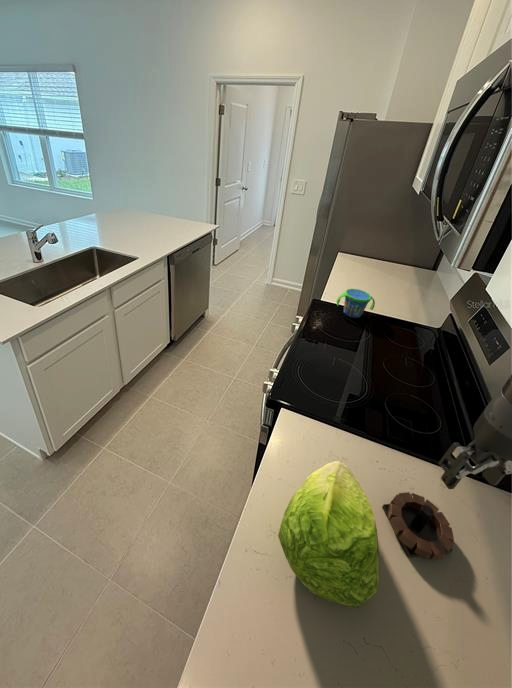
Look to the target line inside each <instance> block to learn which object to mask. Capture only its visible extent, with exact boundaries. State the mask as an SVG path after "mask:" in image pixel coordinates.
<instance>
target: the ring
mask: <svg viewBox="0 0 512 688" xmlns="http://www.w3.org/2000/svg"><path fill="white" fill-rule="evenodd" d="M388 504H389V507H388V518H387V520H388V519H389V520H390V522H389V524H390V525H391V526H390V527H391V529H392V531H393V532H394V533H395V536H397V535H401V536H400V537H399V539H400V540H401V541H402V542H403V543H404V544H405V545H406V546H407V547H408V548H409V549H410V550H411V549H412V548H414V553H416V554H418V555H421V556H420V557H423V558H425V559H429V558H430V560H438V559H443V558H444V557H446V556H447V555H448V554H449V553H448V552H449V551H450V549H451V547H452V548H453V546H454V544H455V543H454V542H455V537H454V533H453V532H454V531H453V528H452V527H451V526H450V525H451V523H450V522H449V521H448V519H447V517H446V516H445V515H444V513H443V512H442V511H439V510H440V508H439V507H437V506H436V505H435V504H434V503H433V502H431V501H430V500H429V499H427V498H426V500H425V497H424V496H421V495H419V494H417V493H414V492H411V493H410V492H407V491H406V492H399V493H397V494H396V495H395V496H394V497H393V498H392V499H391V501H390V503H388ZM423 505H428V506H429V507H431V508H432V510H433V512H434V515H433V516H432V518H431V521H432V523H433V524H434V526H435V527H436V529H437V535H438V540H437V541H433V542H428V541H426V540H423V539H421V538H419V537H417V536H416V535H415V534H414V533H413V532H412V531H411V530H410V529H408V527H407V525H406V524H405V522H404V520H403V518H402V508H404V507H412V508H415V509H417V510H420V509H421V507H422V506H423ZM389 520H388V521H389ZM399 539H398V540H399Z"/></svg>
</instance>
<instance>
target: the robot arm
mask: <svg viewBox="0 0 512 688" xmlns="http://www.w3.org/2000/svg"><path fill="white" fill-rule="evenodd" d="M472 429H473V435H474V440H472V441H471V442H469V443H468V444H467V446H463V445H461V444H460V443H459V442H458V441H456V442H453V443H452V444H451V445H450V446H449V448H448V449H447V450H446V452H445V453H444V455H443V456H442V457H441V458H440V460H439V461H438V465H439V466H440V467H441V469H442V470H443V474H442V475H441V476H440V480H441V481H442V482H443V484H444V485H445V487H446V488H447V489H448V490H454V489H455V488H456V487H457V485H458V484H459V483H460V482H461V481H462V479H463V478H464V477H466V476H467V475H469V474H471V475H472V474H473V475H477V474H479V473H481V472H482V471H483V473H482V475H483V478H484V479H485V480H486V482H488V484H489V485H491V486H497V485H498V484H499V483H500V482H501V481H502V480H503V478H505V476H506V475H511V474H512V374H511V375H510V376H509V377H508V379H507V380H506V381H505V383H504V385H502V388H501V389H500V390H499V391H498V392H497V393H496V394H495V395H494V396H492V398H491V400H490V401H489V403H488V404H487V405H486V407H485V408H484V410H483V411H482V413H480V415H479V417H478V419H477V420H476V421H475V423H474V424H473V428H472ZM469 459H471V461H472V462H473V463H474V464H475V466H472V465H471V463H470V460H469ZM462 467H464V468H463V469H462ZM484 470H485V471H484Z"/></svg>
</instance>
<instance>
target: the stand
mask: <svg viewBox="0 0 512 688" xmlns="http://www.w3.org/2000/svg"><path fill="white" fill-rule="evenodd" d="M389 504H390V503H385V504H383V505H382V506H381V509H382V510H383V512H384V514H385V516H386V518H387V520H388V522H389V523H390V520H389V519H388V507H389ZM433 515H434V512H433V510H432V508H431V507H429V506H428V505H423V506H422V507H421V509H420V510H417V509H415V508H412V507H404V508H402V518H403V520H404V522H405V524H406V525H407V527H408V529H410V530H411V531H412V532H413V533H414V534H415V535H416V536H417V537H419V538H421V539H423V540H426V541H428V542H433V541H437V540H438V535H437V529H436V527H435V526H434V524H433V523H432V521H431V518H432V516H433ZM400 536H401V535H396V537H397V540H398V541H399V543H400V544H401V547H402V549H403V550H404V553H405V554H406V556H407V558H418V557H422V556H421V555H418V554H416V553H414V548H412V549H411V550H410V549H409V548H408V547H407V546H406V545H405V544H404V543H403V542H402V541H401V540H400V539H399V537H400ZM453 550H454V549H453V546H452V547H451V549H450V551H449V552H448V553H447V554H450V553H451V552H452V551H453Z"/></svg>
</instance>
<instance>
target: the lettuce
mask: <svg viewBox="0 0 512 688" xmlns="http://www.w3.org/2000/svg"><path fill="white" fill-rule="evenodd" d="M371 506H372V505H371V503H370V501H369V499H368V497H367V495H366V493H365V491H364V489H363V487H362V486H361V484H360V483H359V481H358V480H357V478H356V477H355V475H354V474H353V472H352V471H351V470H350V468H348V467H347V465H346V464H345V463H344V462H341V461H339V460H335V461H331V462H328V463H327V464H325V465H323V466H322V467H319V468H318V469H316V470H314V471H313V472H312V473H311V474H309V475H308V476H307V477H306V478H305V480H304V482H303V483H302V485H301V486H300V487H299V488H298V489H297V490H296V492H295V493H294V494H293V495H292V497H291V499H290V501H289V502H288V505H287V507H286V509H285V511H284V514H283V517H282V519H281V523H280V526H279V531H278V535H277V537H278V541H279V542H280V546H281V548H282V551H283V553H284V556H285V559H286V561H287V564H288V565H289V567H290V569H291V571H292V573H294V575H295V576H296V578H297V579H298V580H299V581H300V583H302V584H303V586H304V587H306V589H308V590H309V592H311V593H312V594H314V595H317V596H318V597H320V598H321V599H324V600H327V601H329V602H332V603H336V604H341V605H343V606H344V605H345V606H348V607H351V608H355V607H359V606H363V605H364V604H365V603H366V602H367V601H368V600H369V599H371V598H372V597H373V596H375V594H377V593H378V587H379V582H380V575H379V574H380V569H379V568H380V567H379V555H380V550H379V537H378V529H377V528H378V527H377V524H376V519H375V516H374V515H375V514H374V512H373V509H372V507H371Z"/></svg>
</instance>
